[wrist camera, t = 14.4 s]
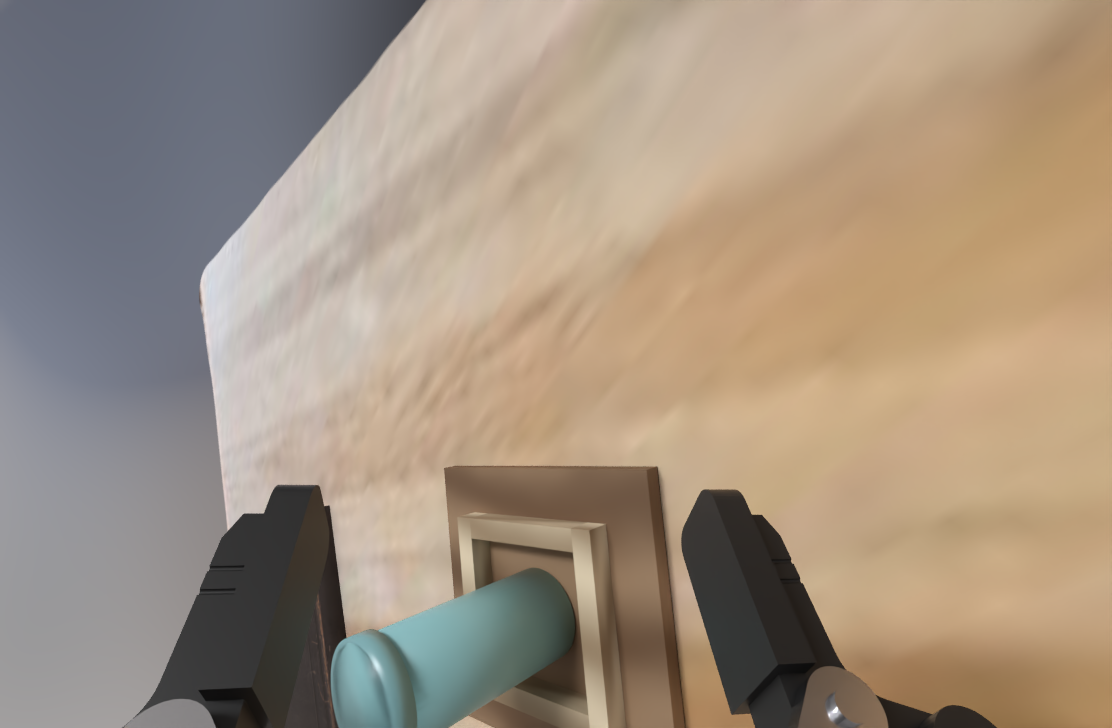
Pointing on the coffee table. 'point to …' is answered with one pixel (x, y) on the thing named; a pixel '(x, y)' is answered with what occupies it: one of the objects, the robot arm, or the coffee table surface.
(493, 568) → the collar base
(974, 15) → the coffee table surface
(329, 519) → the hardcover book
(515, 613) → the teal domed canister
